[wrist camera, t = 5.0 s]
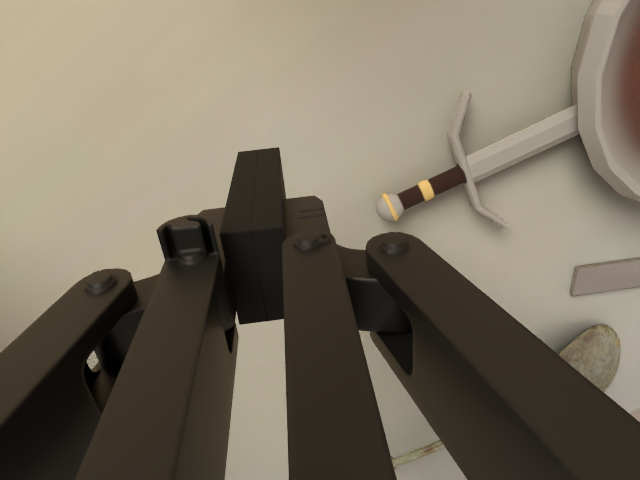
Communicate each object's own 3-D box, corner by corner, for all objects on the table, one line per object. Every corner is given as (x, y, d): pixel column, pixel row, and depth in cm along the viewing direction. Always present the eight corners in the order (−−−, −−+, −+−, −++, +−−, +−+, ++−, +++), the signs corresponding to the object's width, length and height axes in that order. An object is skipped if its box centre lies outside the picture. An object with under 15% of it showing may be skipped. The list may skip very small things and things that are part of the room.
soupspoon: (620, 359, 35) (598, 300, 32) (654, 390, 32) (633, 327, 29) (374, 484, 38) (335, 438, 35) (384, 523, 34) (342, 477, 32)
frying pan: (313, 70, 20) (1023, -296, 16) (308, 62, 22) (920, -255, 18) (432, 334, 28) (926, 132, 24) (419, 305, 30) (863, 119, 26)
